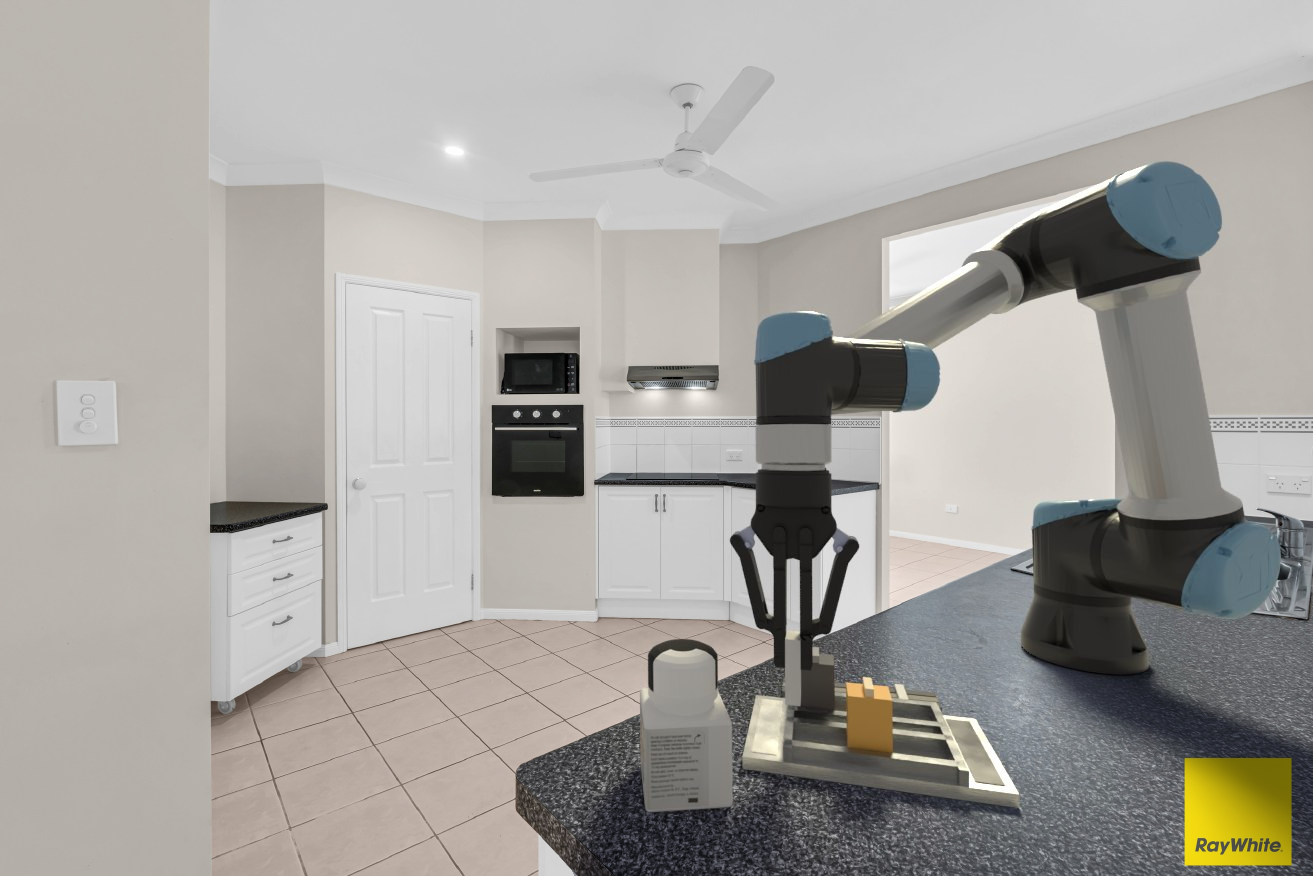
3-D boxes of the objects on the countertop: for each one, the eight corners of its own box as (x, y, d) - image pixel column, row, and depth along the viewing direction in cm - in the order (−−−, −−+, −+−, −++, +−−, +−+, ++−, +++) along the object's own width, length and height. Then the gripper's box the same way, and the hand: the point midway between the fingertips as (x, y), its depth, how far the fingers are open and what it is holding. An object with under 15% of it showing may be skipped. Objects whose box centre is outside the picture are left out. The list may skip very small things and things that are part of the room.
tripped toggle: (888, 746, 57) (887, 678, 57) (893, 764, 54) (892, 692, 54) (846, 741, 58) (846, 674, 58) (848, 758, 55) (847, 687, 55)
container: (640, 764, 57) (639, 634, 57) (716, 760, 58) (715, 631, 58) (645, 814, 49) (644, 664, 49) (733, 809, 50) (732, 660, 50)
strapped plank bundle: (933, 700, 70) (933, 687, 70) (942, 719, 65) (942, 705, 65) (784, 685, 75) (784, 673, 75) (782, 702, 70) (782, 689, 70)
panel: (975, 729, 63) (975, 706, 63) (1019, 808, 50) (1019, 778, 50) (756, 705, 70) (756, 683, 70) (742, 768, 56) (742, 742, 56)
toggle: (833, 707, 66) (833, 648, 66) (834, 720, 63) (834, 658, 63) (798, 703, 67) (797, 645, 67) (797, 716, 64) (796, 655, 64)
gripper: (857, 466, 60) (858, 691, 60) (734, 465, 64) (734, 677, 63) (863, 469, 53) (864, 725, 53) (723, 468, 56) (723, 708, 56)
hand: (793, 699), depth 58 cm, fingers closed
